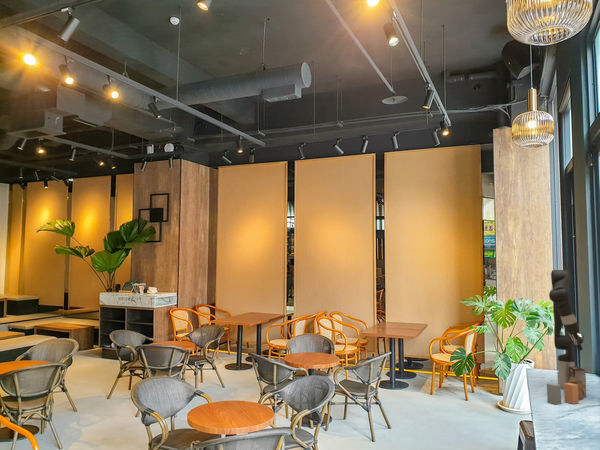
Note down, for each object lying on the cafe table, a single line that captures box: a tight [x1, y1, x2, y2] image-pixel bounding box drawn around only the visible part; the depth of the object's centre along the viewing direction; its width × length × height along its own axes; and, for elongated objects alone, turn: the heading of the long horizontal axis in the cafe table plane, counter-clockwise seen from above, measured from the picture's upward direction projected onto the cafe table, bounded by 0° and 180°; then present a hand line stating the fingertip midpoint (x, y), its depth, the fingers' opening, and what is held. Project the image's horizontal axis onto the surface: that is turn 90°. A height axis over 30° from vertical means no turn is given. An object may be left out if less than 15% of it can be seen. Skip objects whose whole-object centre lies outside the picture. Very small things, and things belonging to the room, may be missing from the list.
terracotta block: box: [563, 383, 580, 405], centre depth 257 cm, size 5×5×10 cm
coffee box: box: [569, 366, 588, 399], centre depth 273 cm, size 9×6×16 cm
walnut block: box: [568, 380, 584, 401], centre depth 265 cm, size 5×5×10 cm
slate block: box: [546, 382, 562, 405], centre depth 256 cm, size 5×5×10 cm
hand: (580, 350), depth 268 cm, fingers closed
